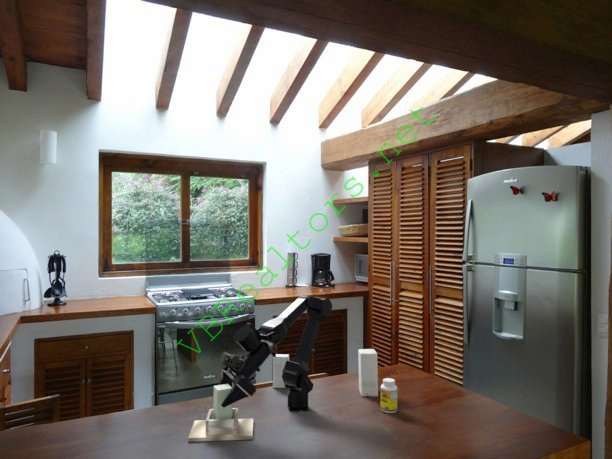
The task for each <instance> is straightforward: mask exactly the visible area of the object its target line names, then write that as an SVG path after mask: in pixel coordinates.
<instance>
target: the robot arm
mask: <svg viewBox="0 0 612 459" xmlns="http://www.w3.org/2000/svg"><path fill="white" fill-rule="evenodd" d="M332 310H333V304H332V302H331V300H330V299H329V297H320V296H319V297H318V296H312V295H309V294H300V295H298V296H297V298H296V299H295V301H293V302H292V303H291V304H290V305H289V306H288V307H287V308H285V310H283V311H282V312H281V313H280V314H279V315H278V316H277V317H274V318H272V319H269V320H266V322H264V323H263V324H261V325H260V326H259V328H255V326H254V324H252V323H250V322H246V324H245V325H243V326H241V327H239V329H237V330H236V331H235V333H234V335H233V339H234V341H235V342H236V343H237V344H238V345H239V346H240V347H241V348H242V349H243V350H244V351H246V354H240V356H239V355H236V354H234V353H233V354H232V353H229V352H226V351H223V352H222V354H221V357H220V358H219V363H220V364H221V366H220V372H221V378H220V379H219V383H218V384H217V385H223V384H229V385H230V387H231V388H232V389H231V391H230V392H229V394H228V395H227V397H226V398H225V400H224V401H223V403H222V404H221V406H222V407H223V408H224V407H226V406H228V405H230V404H232V405H233V404H234V403H236V402H239V401H241V400H244V399H246V398H249V397H253V396H254V394H256V392H257V387H256V386H255V385H254V384H253V383H252V380H251V378H252V377H253V376H254V374H256V373H259V372H261V369H260V368H261V366H262V365H263V364H264V363H265V362H266V360H267V359H268V358H269V357H270V356H272V358H273V357H276V354H277V353H276V351H277V349H276V347H275V346H274V345H278V344H280V343H281V342H282V341H283V339H284V338H285V337H286V336H287V334H288V333H287V332H288V329H289V328H290V327H291V325H293V323H294V322H295V321H297V320H298V319H299V318H300V317H301V316H302V315H303V314H304V313H305V312H306V314H307V321H306V324H305V326H304V329H303V332H302V335H301V338H300V340H299V344H298V346H297V349H296V352H295V353H294V354H295V355H294V357H293V358H292V359H291V360H289V361H288V360H287V361H286V363H285V367H284V369H283V371H282V372H283V374H282V378H283V382H284V385H285V388H284V389H287V390H288V391H289V392H287V395H286V397H287V400H286V401H287V402H286V404H287V407H288V409H289V412H303V411H304V412H306V411H307V412H308V411H309V410H310V408H309V393H310V392H312V391H313V388H314V383H313V382H312V380H310V378H309V374H310V368H309V360H310V357H311V353H312V351H313V349H314V346H315V343H316V340H317V337H318V334H319V331H320V327H321V325H322V324H323V323H324V322H325V321H326V320H327V319H328V318H329V316H330V314H331V312H332ZM269 343H270V344H274V345H270V344H269ZM213 396H214V393H213Z"/></svg>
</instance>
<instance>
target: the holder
mask: <svg viewBox="0 0 612 459" xmlns="http://www.w3.org/2000/svg"><path fill="white" fill-rule="evenodd" d="M253 438H254V418H250V417H249V418H239V407H232V419H213V408H209V409H208V412H207V416H206V419H202V420H200V419H197V420H194V421H193V425H192V427H191V429H190V433H189V435H188V438H187V442H188V443H192V442H215V441H216V442H217V441H241V440H246V441H247V440H253Z"/></svg>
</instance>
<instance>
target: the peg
mask: <svg viewBox="0 0 612 459" xmlns="http://www.w3.org/2000/svg"><path fill="white" fill-rule="evenodd" d="M231 389H232V387H230V385H229V384H223V385H218V384H217V385H213V394H214V395H213V406H212V407H213V408H212V409H213V419H232V408H233V403H232V404H230V405H228V406H226V407H224V408H223V407H222V406H221V404H222V403H223V401H224V400H225V398H226V397H227V395H228V394H229V392H230V391H231Z"/></svg>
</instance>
